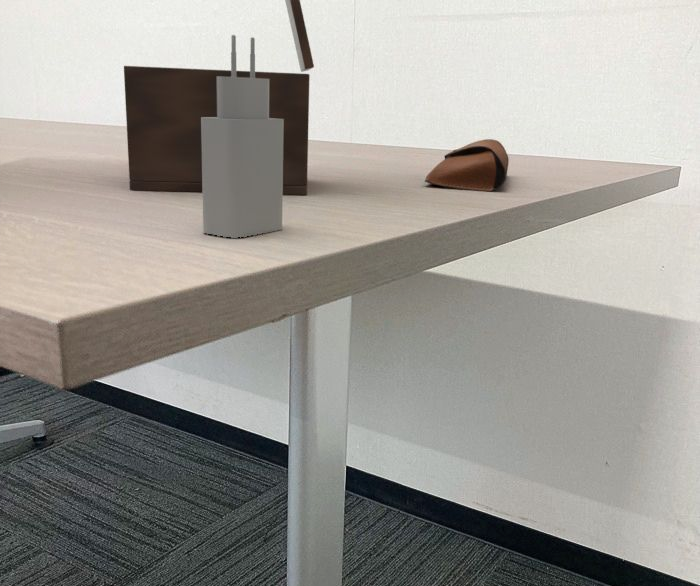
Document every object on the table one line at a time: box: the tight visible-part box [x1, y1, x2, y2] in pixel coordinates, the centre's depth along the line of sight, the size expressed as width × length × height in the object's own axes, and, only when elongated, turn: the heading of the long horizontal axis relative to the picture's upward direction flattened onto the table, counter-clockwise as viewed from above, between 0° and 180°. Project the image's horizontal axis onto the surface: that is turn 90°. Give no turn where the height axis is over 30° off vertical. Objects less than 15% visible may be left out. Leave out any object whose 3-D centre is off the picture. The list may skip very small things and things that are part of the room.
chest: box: [123, 65, 311, 196], centre depth 73 cm, size 16×13×10 cm
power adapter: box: [201, 34, 284, 239], centre depth 49 cm, size 3×5×12 cm, turn 148°
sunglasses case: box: [424, 138, 510, 193], centre depth 86 cm, size 18×7×7 cm, turn 169°
